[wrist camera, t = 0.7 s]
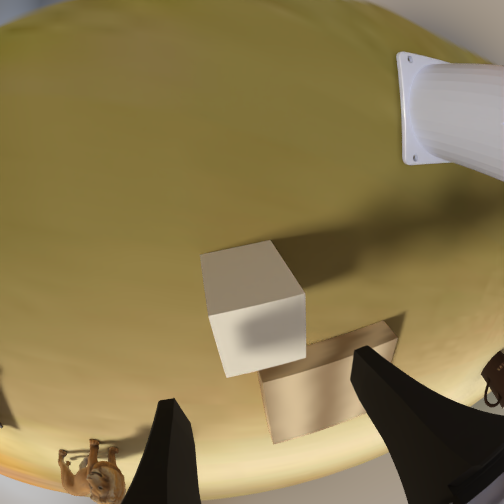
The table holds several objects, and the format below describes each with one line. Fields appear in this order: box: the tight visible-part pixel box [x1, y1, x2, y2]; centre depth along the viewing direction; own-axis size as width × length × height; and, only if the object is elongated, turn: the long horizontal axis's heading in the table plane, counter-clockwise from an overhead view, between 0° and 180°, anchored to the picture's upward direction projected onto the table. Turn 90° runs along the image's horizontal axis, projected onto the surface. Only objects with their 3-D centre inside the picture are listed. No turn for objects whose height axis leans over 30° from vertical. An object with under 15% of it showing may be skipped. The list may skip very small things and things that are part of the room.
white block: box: [200, 240, 306, 378], centre depth 17 cm, size 4×4×6 cm
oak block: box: [257, 320, 398, 444], centre depth 26 cm, size 12×12×3 cm
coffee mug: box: [481, 352, 504, 409], centre depth 37 cm, size 12×9×10 cm
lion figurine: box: [58, 439, 126, 504], centre depth 22 cm, size 15×5×9 cm, turn 130°
